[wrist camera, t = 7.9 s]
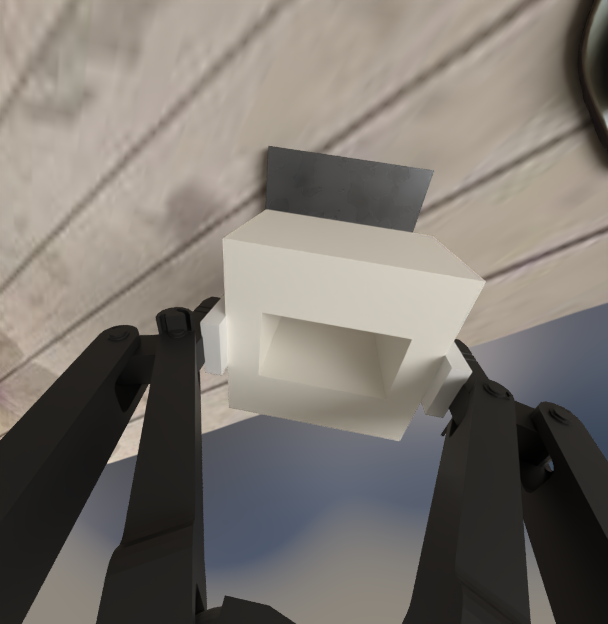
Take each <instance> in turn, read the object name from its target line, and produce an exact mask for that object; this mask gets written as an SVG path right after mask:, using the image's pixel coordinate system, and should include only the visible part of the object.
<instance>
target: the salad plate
mask: <svg viewBox="0 0 608 624" xmlns="http://www.w3.org/2000/svg"><path fill="white" fill-rule="evenodd" d="M578 69H579V77H580V82H581V86H582V91H583V97H584V101H585V103H586V106H587V108H588V110H589V113H590V115H591V118H592V121H593V124H594V127H595V129H596V132H597V134H598V136H599V138H600V140H601V142H602V144H603V145H604V147H605V148H606V149H607V151H608V0H594V3H593V5H592V8H591V11H590V14H589V17H588V19H587V22H586V25H585V28H584V31H583V36H582V40H581V44H580V49H579V58H578Z"/></svg>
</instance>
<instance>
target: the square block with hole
mask: <svg viewBox="0 0 608 624" xmlns="http://www.w3.org/2000/svg"><path fill="white" fill-rule="evenodd" d="M223 263H224V289H225V315H226V325H227V354H228V365H227V368H228V394H229V408H233V409H238V410H244V411H249V412H254V413H259V414H264V415H270V416H274V417H280V418H284V419H289V420H295V421H300V422H305V423H310V424H315V425H321V426H325V427H331V428H336V429H341V430H346V431H351V432H356V433H361V434H366V435H371V436H376V437H382V438H386V439H392V440H397V441H400V440H401V438H402V436H403V434H404V432H405V431H406V429H407V427H408V425H409V423H410V421H411V419H412V418H413V416H414V414H415V412H416V410H417V408H418V406H419V405H420V403H421V400H422V398H423V396H424V394H425V392H426V391H427V389H428V387H429V385H430V383H431V381H432V379H433V378H434V376H435V374H436V372H437V370H438V368H439V367H440V365H441V363H442V361H443V359H444V357H445V355H447V353H448V351H449V349H450V347H451V345H452V344H453V342H454V340H455V338H456V336H457V334H458V332H459V331H460V329H461V327H462V325H463V323H464V321H465V320H466V318H467V316H468V314H469V312H470V310H471V308H472V307H473V305H474V303H475V301H476V299H477V297H478V295H479V294H480V292H481V290H482V288H483V286H484V284H485V282H486V281H485V280H483V279H482V278H481V277H480V276H479V275H478V274H476V273H475V272H474V271H473V270H472V269H471V268H469V267H468V266H467V265H466V264H465V263H464V262H462V261H461V260H460V259H459V258H458V257H457V256H455V255H454V254H453V253H452V252H451V251H450V250H448V249H447V248H446V247H445V246H444V245H443V244H442V243H440V242H439V241H438V240H437V239H436V238H435V237H433V236H431V235H425V234H418V233H412V232H406V231H400V230H393V229H387V228H381V227H374V226H368V225H362V224H356V223H349V222H343V221H337V220H330V219H324V218H318V217H312V216H305V215H299V214H293V213H286V212H280V211H274V210H268V209H266V210H264V211H263V212H261V213H260V214H258V215H257V216H255V217H254V218H252V219H251V220H249V221H248V222H246V223H245V224H243V225H242V226H240V227H239V228H237V229H236V230H234V231H233V232H231V233H230V234H228V235H226V236H225V237H223Z"/></svg>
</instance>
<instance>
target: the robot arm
mask: <svg viewBox="0 0 608 624" xmlns="http://www.w3.org/2000/svg"><path fill="white" fill-rule="evenodd" d="M156 321H157V326H158V331H159V335H139V332H138V329H137V328H136V327H134V326H130V325H119V326H114V327H111V328H109V329H106V330H104V331H103V332H102V333H100V334H99V335H98V336H97V338H96V339H95V340H94V341H93V342H92V343H91V344H90V345H89V346H88V347H87V348H86V349H85V350H84V351H83V352H82V354H81V355H80V356H79V357H78V358H77V359H76V360H75V361H74V362H73V363H72V364H71V365H70V366H69V367H68V369H67V370H66V371H65V372H64V373H63V374H62V375H61V376H60V377H59V378H58V379H57V380H56V381H55V382H54V383H53V385H52V386H51V387H50V388H49V389H48V390H47V391H46V392H45V393H44V394H43V395H42V396H41V397H40V398H39V399H38V401H37V402H36V403H35V404H34V405H33V406H32V407H31V408H30V409H29V410H28V411H27V412H26V413H25V414H24V415H23V417H22V418H21V419H20V420H19V421H18V422H17V423H16V424H15V425H14V426H13V427H12V428H11V429H10V430H9V432H8V433H7V434H6V435H5V436H4V437H3V438H2V439H1V440H0V624H22V622H23V620H24V618H25V617H26V614H27V613H28V611H29V609H30V607H31V605H32V603H33V602H34V600H35V598H36V596H37V594H38V592H39V590H40V588H41V586H42V585H43V583H44V581H45V579H46V577H47V575H48V573H49V571H50V569H51V568H52V566H53V564H54V562H55V560H56V558H57V556H58V554H59V553H60V550H61V549H62V547H63V545H64V543H65V541H66V539H67V537H68V535H69V534H70V532H71V530H72V528H73V526H74V524H75V522H76V520H77V518H78V517H79V515H80V513H81V511H82V509H83V507H84V505H85V503H86V502H87V499H88V498H89V496H90V494H91V492H92V490H93V488H94V486H95V485H96V483H97V481H98V478H99V477H100V475H101V473H102V471H103V470H104V468H105V466H106V464H107V462H108V460H109V458H110V456H111V454H112V453H113V451H114V449H115V447H116V445H117V443H118V441H119V439H120V437H121V436H122V434H123V432H124V430H125V428H126V426H127V424H128V422H129V420H130V419H131V417H132V415H133V413H134V411H135V409H136V407H137V405H138V404H139V402H140V400H141V398H142V396H143V394H144V392H145V390H146V388H147V387H148V385H149V384H150V389H149V394H148V400H147V405H146V411H145V417H144V422H143V428H142V433H141V439H140V444H139V450H138V456H137V461H136V467H135V473H134V478H133V483H132V489H131V495H130V501H129V506H128V511H127V517H126V522H125V528H124V533H123V537H122V540H121V543H120V545H119V546H118V547H117V548H116V549H115V550H114V552H113V554H112V557H111V559H110V562H109V566H108V569H107V573H106V577H105V582H104V587H103V591H102V596H101V601H100V606H99V611H98V616H97V621H96V624H296V623H294V622H292V621H291V620H290V619H288V618H287V617H285V616H284V615H282V614H281V613H279V612H278V611H276V610H275V609H273V608H272V607H271V606H268V605H264V604H260V603H256V602H251V601H247V600H243V599H238V598H234V597H230V596H225V598H224V601H223V605H222V606H221V607H216V608H212V609H209V610H207V598H206V597H207V596H206V576H205V562H204V523H203V482H202V481H203V479H202V435H201V390H200V371H199V370H200V369H201V367H202V366H203V364H204V365H205V373H211V374H216V375H221V376H222V374H223V372H224V370H225V369H226V367H227V365H228V354H227V325H226V315H225V294H224V295H223V297H222V298H218V297H210V298H208V299H206V300H204V301H203V302H202V303H201V304H200V305H199V306H198V307H197V308H196V309H195V310H194V311H193V312H192V311H191V310H189V309H187V308H183V307H174V308H168V309H165V310H162V311H161V312H160V313H158V314H157V316H156ZM421 403H422V406H423V409H424V412H425V414H426V415H431V416H436V417H441V418H443V417H444V415H445V414H446V412H447V411H448V409H449V410H450V412H451V414H452V419H451V420H450V422H449V423H448V425H447V427H446V428H445V429H444V431H443V432H442V434H441V435H442V436H444V435H445V434H446V437H445V441H444V446H443V451H442V456H441V461H440V466H439V470H438V475H437V479H436V484H435V489H434V494H433V499H432V503H431V508H430V513H429V518H428V522H427V527H426V532H425V537H424V542H423V546H422V551H421V556H420V561H419V565H418V570H417V575H416V580H415V585H414V590H413V594H412V599H411V603H410V607H409V609H408V612H407V614H406V616H405V618H404V620H403V622H402V624H531V621H530V608H529V595H528V580H527V566H526V552H525V538H524V524H523V520H524V523H525V526H526V529H527V532H528V536H529V539H530V542H531V545H532V548H533V552H534V555H535V558H536V561H537V564H538V567H539V571H540V574H541V577H542V580H543V583H544V587H545V590H546V593H547V596H548V599H549V603H550V606H551V609H552V612H553V615H554V619H555V622H556V624H608V461H607V460H606V458H605V457H604V455H603V454H602V452H601V451H600V449H599V448H598V446H597V445H596V443H595V442H594V440H593V439H592V437H591V435H590V434H589V432H588V431H587V430H586V428H585V426H584V425H583V424H582V422H581V421H580V420H579V419H578V418H577V417H576V416H575V415H573V414H572V413H571V412H570V411H569V410H567V409H565V408H563V407H561V406H559V405H556V404H554V403H550V402H541V403H540V404H539V405H538V406H537V407H536V408H535V409H534V408H531V407H529V406H527V405H524V404H521V403H519V402H517V401H514V398H513V395H512V394H511V393H510V392H509V390H507V389H506V388H505V387H504V386H502V385H500V384H499V383H497V382H495V381H492V380H489V379H488V377H487V376H486V375H485V373H484V371H483V370H482V368H481V367H480V365H479V364H478V362H477V361H476V359H475V358H474V356H473V355H472V353H471V352H470V350H469V348H468V347H467V346H466V345H465V344H464V343H462V342H461V341H460V340H458V339H455V340H454V342H453V344H452V345H451V347H450V349H449V351H448V353H447V355H445V357H444V359H443V361H442V363H441V365H440V367H439V368H438V370H437V372H436V374H435V376H434V378H433V379H432V381H431V383H430V385H429V387H428V389H427V391H426V392H425V394H424V396H423V398H422V400H421ZM550 461H552V462H553V465H554V471H552V470H551V468H550V466H549V464H548V463H549V462H550Z"/></svg>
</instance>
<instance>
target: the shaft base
mask: <svg viewBox="0 0 608 624" xmlns="http://www.w3.org/2000/svg"><path fill="white" fill-rule="evenodd" d="M433 172H434V170H427V169H420V168H413V167H407V166H400V165H393V164H387V163H380V162H373V161H367V160H360V159H353V158H347V157H340V156H333V155H326V154H320V153H313V152H306V151H300V150H293V149H286V148H280V147H273V146H269V147H268V168H267V189H266V209H268V210H274V211H280V212H286V213H293V214H299V215H305V216H312V217H318V218H324V219H330V220H337V221H343V222H349V223H356V224H362V225H368V226H374V227H381V228H387V229H393V230H400V231H406V232H412V233H413V230H414V227H415V224H416V222H417V219H418V216H419V213H420V210H421V207H422V204H423V201H424V198H425V195H426V192H427V190H428V187H429V184H430V181H431V178H432V175H433Z"/></svg>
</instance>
